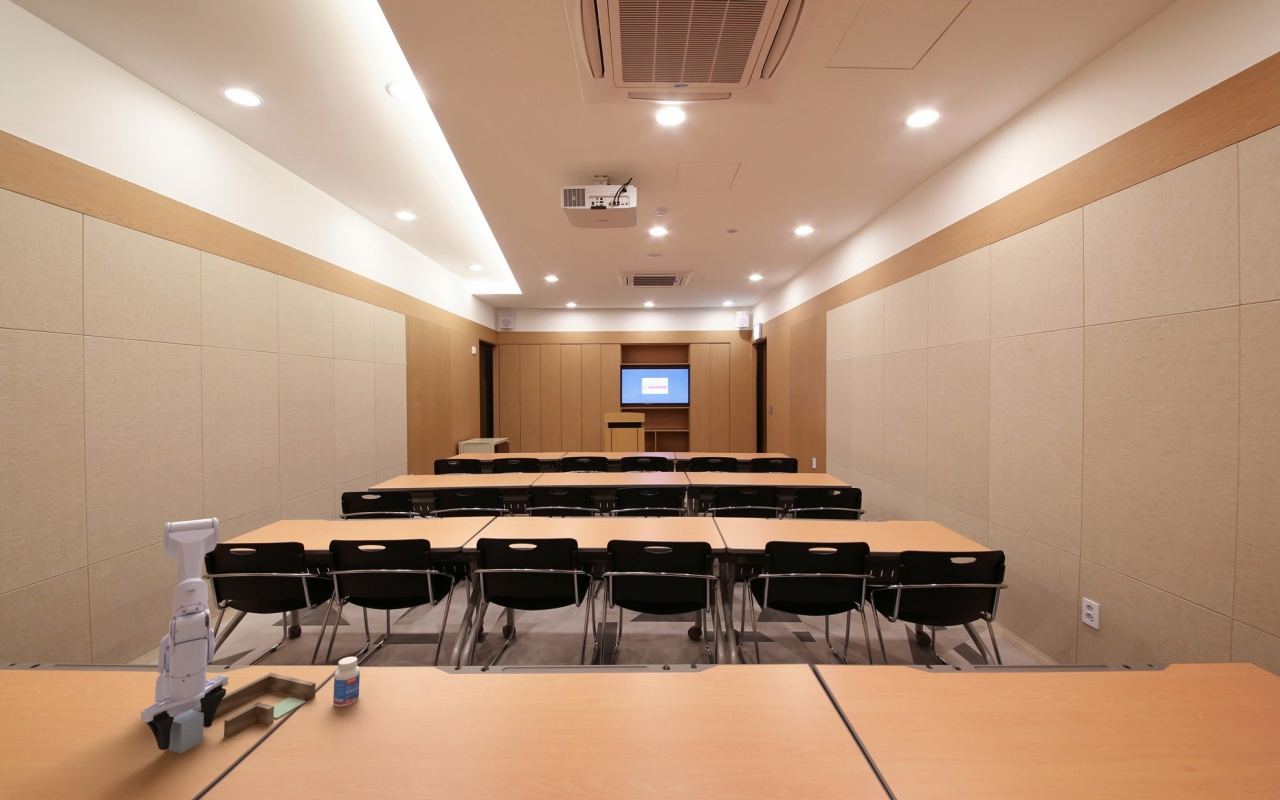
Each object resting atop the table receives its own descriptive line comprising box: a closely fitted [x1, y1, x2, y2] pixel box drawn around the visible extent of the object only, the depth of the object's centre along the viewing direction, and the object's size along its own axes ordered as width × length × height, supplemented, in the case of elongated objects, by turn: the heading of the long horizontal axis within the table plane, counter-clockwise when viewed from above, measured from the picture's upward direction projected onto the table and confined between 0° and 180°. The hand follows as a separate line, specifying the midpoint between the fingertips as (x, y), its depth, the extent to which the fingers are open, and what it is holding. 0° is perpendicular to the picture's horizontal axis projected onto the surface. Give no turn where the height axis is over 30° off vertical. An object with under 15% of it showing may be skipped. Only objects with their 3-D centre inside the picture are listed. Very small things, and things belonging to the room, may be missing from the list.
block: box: [167, 709, 204, 754], centre depth 104 cm, size 4×4×6 cm
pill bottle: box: [332, 656, 361, 708], centre depth 120 cm, size 6×5×10 cm
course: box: [195, 672, 317, 738], centre depth 116 cm, size 15×17×4 cm
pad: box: [273, 696, 307, 720], centre depth 117 cm, size 6×7×1 cm
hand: (185, 736), depth 104 cm, fingers open, 7 cm apart
